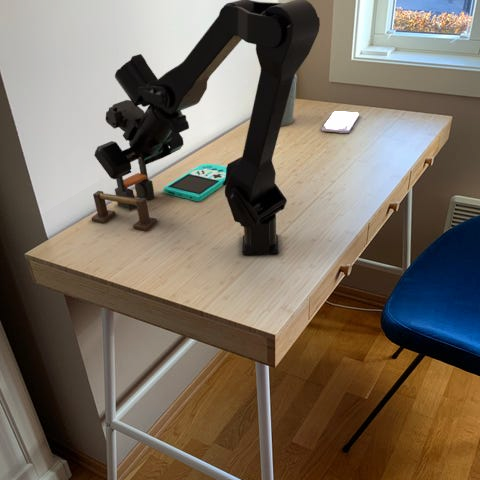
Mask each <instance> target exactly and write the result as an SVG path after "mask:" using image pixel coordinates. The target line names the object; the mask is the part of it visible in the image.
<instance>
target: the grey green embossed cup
mask: <svg viewBox="0 0 480 480" xmlns="http://www.w3.org/2000/svg"><path fill="white" fill-rule="evenodd" d="M297 80H298V77H297V73H295V75H294V78H293V82H292V85H291V89H290V93H289V97H288V100H287V104H286V108H285V112H284V116H283V119H282V123H281V127H284V126H289V125H290V124H292V123H293V121H294V111H295V100H296V90H297Z"/></svg>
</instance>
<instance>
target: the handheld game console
mask: <svg viewBox="0 0 480 480" xmlns="http://www.w3.org/2000/svg"><path fill="white" fill-rule="evenodd" d="M226 168H227V166H225V165H219V164H213V163H202V164H200V165H198V166H196V167H195V168H193V169H191V170H190V171H188V172H187V173H185V174H183V175H182V176H180V177H178V178H176V179H175V180H173V181H172V182H171V183H169V184H167V185H165V186H164V187H163V193H164V194H166V195H170V196H174V197H178V198H182V199H185V200H191V201H195V202H201V201H203V200H204V199H206V198H207V197H208V196H210V195H211V194H213V193H215V191H217V190H218V189H220V188H222V187H223V186H224V185H223V182H224V181H225V178H226Z"/></svg>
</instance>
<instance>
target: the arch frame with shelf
mask: <svg viewBox="0 0 480 480" xmlns="http://www.w3.org/2000/svg"><path fill="white" fill-rule="evenodd" d="M132 156H133V155H132ZM138 162H139V164H138V167H139V172H137V173H135V174H132V175H131V176H128V177H126V178H124V176H123V177H119V178H117V179H115V181H116V186H117V187H116V188H114V193H115V195H117V196H124V197H130V198H136V197H138V198H146V201H150V200H152V199H155V190H154V184H153V180H152V179H149V175H148V170H147V164H146V163H145V160H144V161H143V160H142V158H139V159H137V163H138ZM132 186H134V190H135V192H134V190H133V189H131V188H130V187H132ZM135 193H136V196H135ZM116 204H117V206H118V207H121V208H123V209H126V210H129V211H131V210H133V209H135V208H137V205H133V204H127V203H121V202H116Z"/></svg>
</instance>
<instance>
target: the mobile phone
mask: <svg viewBox="0 0 480 480" xmlns="http://www.w3.org/2000/svg"><path fill="white" fill-rule="evenodd" d="M359 117H360V113H359V112H351V111H333V112H332V113H331V115H330V116H329V118H328V119H327V120H326V121H325V123H324V124H323V126H322V127H321V131H322V132H327V133H340V134H347V133H350V131H351V130H352V129H353V127H354V125H355V123H356V122H357V120H358V119H359Z"/></svg>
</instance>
